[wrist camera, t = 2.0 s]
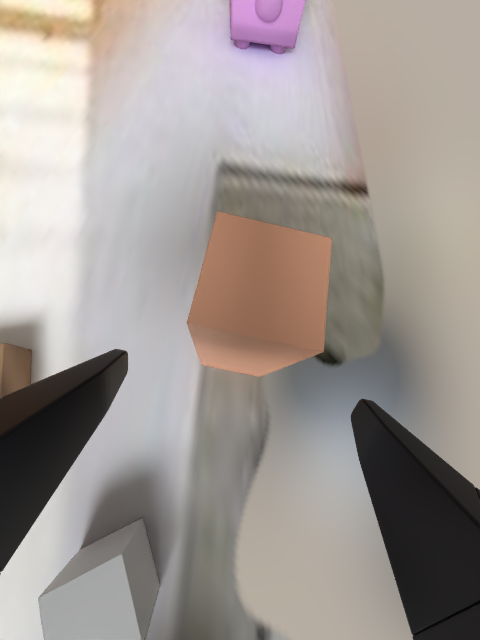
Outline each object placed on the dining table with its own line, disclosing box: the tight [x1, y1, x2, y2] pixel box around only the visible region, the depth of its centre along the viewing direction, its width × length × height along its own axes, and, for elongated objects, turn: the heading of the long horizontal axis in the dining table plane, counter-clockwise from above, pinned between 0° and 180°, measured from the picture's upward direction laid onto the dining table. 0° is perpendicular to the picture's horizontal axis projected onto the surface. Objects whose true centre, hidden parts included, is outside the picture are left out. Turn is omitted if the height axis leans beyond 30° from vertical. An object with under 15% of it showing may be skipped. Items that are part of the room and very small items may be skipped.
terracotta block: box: [187, 211, 332, 377], centre depth 15 cm, size 5×5×12 cm
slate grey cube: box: [38, 518, 160, 640], centre depth 13 cm, size 4×4×4 cm
